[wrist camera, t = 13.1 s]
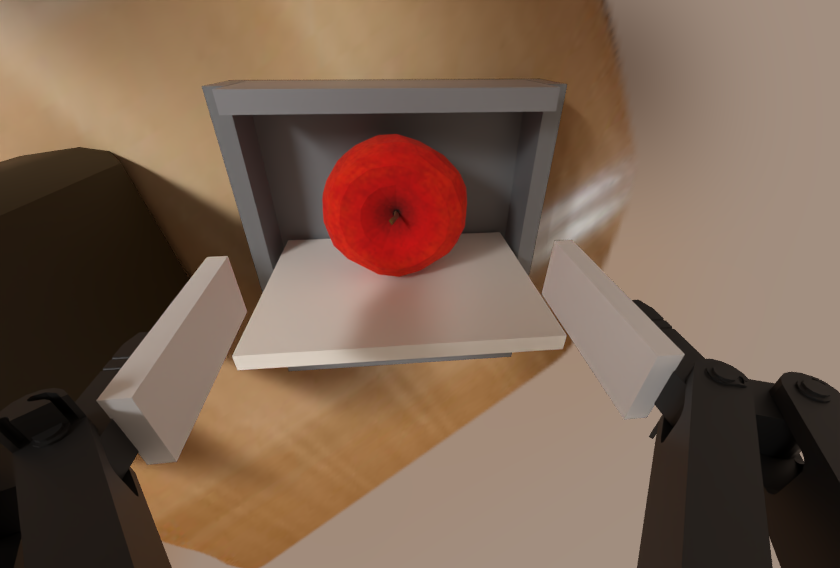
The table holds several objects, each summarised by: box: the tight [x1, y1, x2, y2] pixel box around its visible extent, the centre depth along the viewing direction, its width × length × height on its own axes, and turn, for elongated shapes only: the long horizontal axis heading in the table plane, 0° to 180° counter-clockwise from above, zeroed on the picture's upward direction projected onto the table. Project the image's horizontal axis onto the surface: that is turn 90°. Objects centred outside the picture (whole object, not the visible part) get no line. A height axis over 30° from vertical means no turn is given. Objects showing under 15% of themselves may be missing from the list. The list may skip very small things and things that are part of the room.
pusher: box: [232, 232, 567, 370], centre depth 26 cm, size 6×17×13 cm, turn 90°
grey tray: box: [202, 79, 567, 371], centre depth 27 cm, size 20×21×7 cm
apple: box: [322, 134, 467, 277], centre depth 24 cm, size 9×9×8 cm
